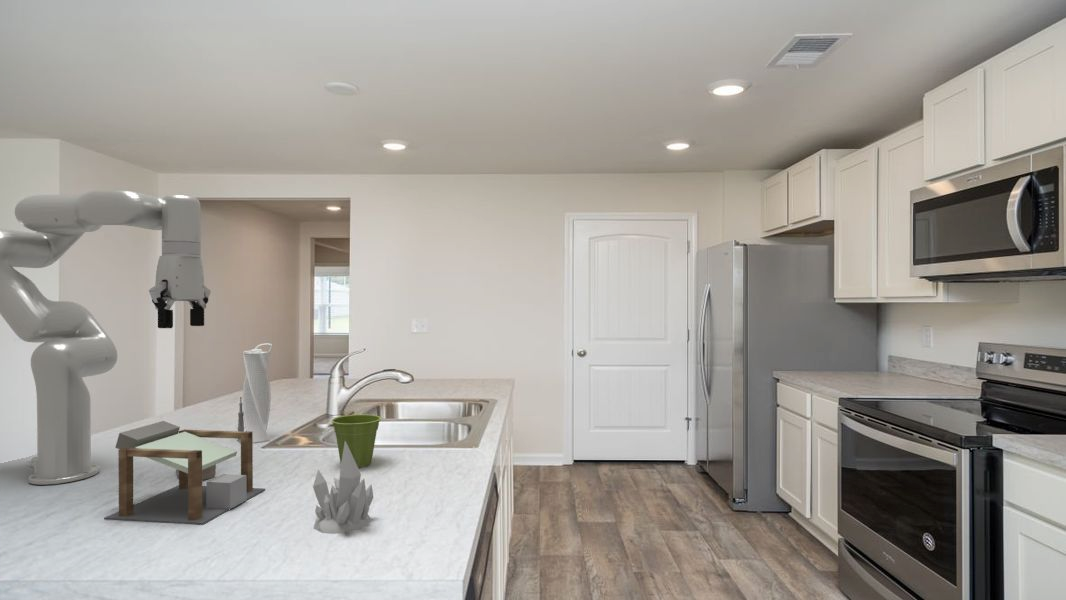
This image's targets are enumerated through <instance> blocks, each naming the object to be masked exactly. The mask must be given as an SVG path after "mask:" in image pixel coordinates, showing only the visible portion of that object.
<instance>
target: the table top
mask: <svg viewBox="0 0 1066 600" xmlns="http://www.w3.org/2000/svg"><path fill="white" fill-rule="evenodd" d="M264 491H266V488H264V487H262V488H260V487H253V490H251V491H250V492H247V500H246V501H244V502H242V503H240V504H238V505H237V506H236V507H238V506H240V505H241V504H243V503H245V502H247V501H249V500H250V499H252V498H254V497H256V496H257V495H259V494H261V493H262V492H264ZM133 508H134V513H133V514H130V515H128V516H119V510H118V511H117V512H116V511H115V512H114V513H111V514H109V515H107V516H105V517H103V519H104V520H110V521H111V520H112V521H114V520H115V521H131V522H148V523H149V522H150V523H166V524H167V523H168V524H182V523H183V524H185V525H200V524H201V525H202V524H203V525H206V524H207V523H208V521H209V522H210V520H211V521H212V520H214V519H216V518H217V516H218V517H220V516H222V515H223V514H225V513H227V512H229V511H230V510H229V509H221V508H206V485H202V517H201V518H199V519H197V520H188V489H179V484H178V485H176V486H173V487H171V488H169V489H166V490H164V491H162V492H160V493H158V494H155V495H153V496H150V497H148V498H146V499H143V500H141V501H139V502H136V503H133ZM228 510H229V511H228ZM226 511H227V512H226ZM224 512H225V513H224ZM222 513H223V514H222ZM219 515H220V516H219ZM215 517H216V518H215ZM201 525H200V526H201Z"/></svg>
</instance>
